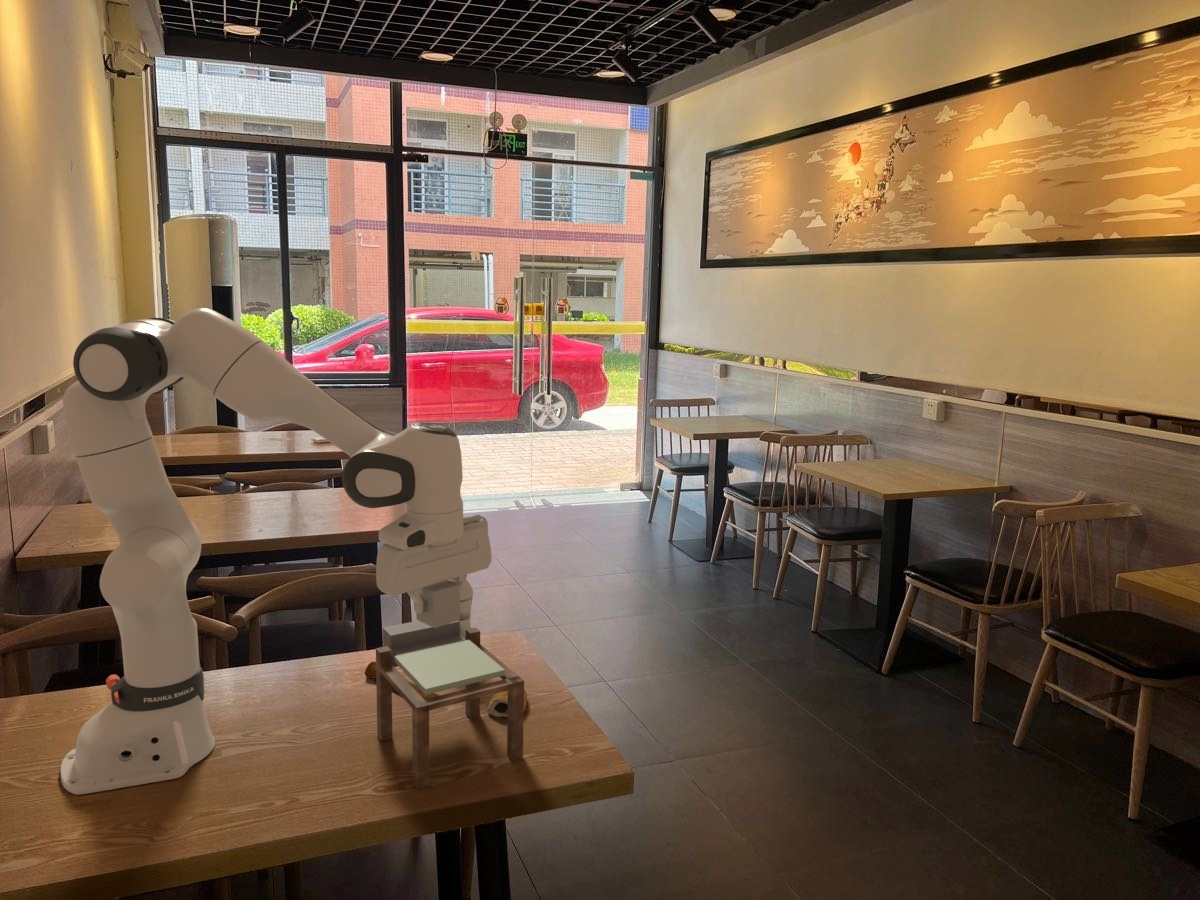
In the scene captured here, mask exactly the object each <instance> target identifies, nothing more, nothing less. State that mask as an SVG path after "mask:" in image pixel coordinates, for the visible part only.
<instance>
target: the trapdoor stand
mask: <svg viewBox="0 0 1200 900" xmlns="http://www.w3.org/2000/svg"><path fill="white" fill-rule="evenodd" d="M466 640H470V641H471V642H472V643H474V644H475V645H476V646H477V647H478V648H479V649H481V650H482V651H483V652H484V653H485V654H487V655H488V656H489V657H490V658H491V659H493V660H494V661H495V662H496V663H497V664H498V665H500V666H501V667H502V668H503V669H504V670H505V675H504V676H500V677H499V678H500V680H497V681H492V682H489V683H485V684H484V683H483V684H481V681H480V682H476V683H472V684H468V685H465V688H464V689H460V690H457V691H453V692H452V691H451V692H449V693H445V694H441V695H440V696H436V697H432V698H428V699H423V698H422V697H421V696H420V694H419V693H418V692H417V691H416V690H415V689H414V688H413V687H412V686H411V685H410V684H409V683H408V682H409V680H407V679H406V677H404V675H402V674H401V673H400V671H399V670H397V668H396V667H394V666H393V665H392V664H391V650H390V649H389V648H388V647H387V646H385V647H383V646H380V647H376V648H375V662H376V679H375V680H376V724H377V725H376V727H377V728H376V729H377V732H376V734H377V737H378V740H380V742H385V741H389V740H392V739H393V689H392V686H393V687H394V688H395V689H396V691H397V692H396V691H395V692H396V693H397V694H399V696H401V698H403V700H404V701H405V702H406V703H407V705H409V707H410V708H411V711H412V712H411V715H412V716H411V721H412V725H411V726H412V728H411V729H412V732H411V733H412V784H413V785H414V787H415V788H416V789H417V791H418V790H420V789H421V790H422V789H424V788H428V787H430V785H431V784H430V781H431V780H430V778H431V777H430V772H431V771H430V769H431V768H430V764H431V763H430V762H431V761H430V711H433V710H436V709H440V708H445V707H449V706H452V705H457V704H460V703H465V714H466V715H467V716H468V717H469V718H473V717H477V716H481V698H484V697H487V696H493V695H495V693H499V692H503V691H507V690H508V712H507V717H506V718H507V719H506V720H507V723H506V724H507V725H506V727H507V731H506V733H507V734H506V736H507V737H506V738H507V739H506V742H507V743H506V756H508V758H510V760H512V761H515V760H518V758H519V759H521V757H522V758H524V719H525V716H524V714H525V713H524V712H525V710H524V690H525V680H524V679H523V678H522V677H521V676H520V675H518V674H517V673H515V671H513V670H512V669H511V668H510V667H509V666H507V665H506V664H505V663H504V662H502V661H501V660H500V659H499V658H498V657H496V656H495V655H494V654H493V653H492V652H490V650H488V649H487V648H485V647H484V645H482V644H481V631H480V629H478V627H476V626H475V627H471V628H470V629H466Z"/></svg>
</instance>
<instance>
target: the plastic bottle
mask: <svg viewBox="0 0 1200 900" xmlns="http://www.w3.org/2000/svg"><path fill="white" fill-rule="evenodd" d="M466 578H468V574H466ZM449 581H452V582H454V579H450V580H449ZM473 597H474V590H473V587H472V585H471V583H470V582H469V581H468V580H467V579H466V582H465V584H464V586H463V588H462V591H461V600H460V620H458V621H460V635H461V636H462V637H463V638H464V639H466V629H470V628H472V627H471V624H472V623H471V612H472V604H473Z"/></svg>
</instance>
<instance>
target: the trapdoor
mask: <svg viewBox="0 0 1200 900" xmlns="http://www.w3.org/2000/svg"><path fill="white" fill-rule="evenodd" d="M385 646H387V647H388V648H389V649H390V650H391V664H392V665H393V666H394V667H395V668H396V667H399V668H400V670H402V671H403V673H404V674H405V675H406V676H407V677H408V678H409V679H410V680H411V681H412V683H413V684H415V685H417V686H418V687H419V688H420V690H421V691H422V692H423V693H424V694H425V695H427V694H431V693H435V694H436V693H439V692H443V691H446V690H451V689H455V688H458V687H463V686H466V685H468V684H472V683H476V682H480V683H481V682H483V681H487V680H491V679H495V678H498V677H499V678H500V676H504V675H505V670H504V669H503V668H502V667H501V666H500V665H498V664H497V663H496V662H495V661H494V660H493V659H491V658H490V657H489V656H488V655H487V654H485V653H484V652H483V651H482V650H481V649H479V648H478V647H477V646H476V645H475V644H474V643H472V642H471V641H470V640H466V639H464V638H463V637H462V636H461V635H460V621H458V620H457V621H454V622H452V623H449V624H446V625H443V626H440V627H437V628H433V627H431V626H429V625H427V624H425V623H423V622H421V621H419V620H414V621H410V622H404V623H399V624H395V625H394V624H393V625H389V626H384V627H382V647H385Z"/></svg>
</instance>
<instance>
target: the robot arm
mask: <svg viewBox="0 0 1200 900" xmlns="http://www.w3.org/2000/svg"><path fill="white" fill-rule="evenodd" d="M72 363H73V365H72V366H73V371H74V374H75V376H76V379H77V381H75V382H73V383H72V384H71V385H69V387H68V388H66V390H65V392H64V394H63V399H62V403H63V404H62V405H63V414H64V420H65V424H66V425H65V426H66V430H67V433H68V438H69V442H70V445H71V448H72V450H73V454H74V457H75V459H76V463H77V465H78V468H79V471H80V474H81V477H82V480H83V482H84V485H85V487H86V490H87V493H88V496H89V499H90V501H91V503H92V505H93V506H94V507H95V508H96V509H97V510H99V511H101V512H102V514H103V515H104V516H105V517H106V519H107V520H108V522H109V523H110V524H111V526H112V528H113V529H114V531H115V532H116V535H117V536H118V540H119V541H118V542H119V545H117V547H115V548H114V549H113V550H112V551H110V553H109V555H108V557H107V558H106V560H105V562H104V564H103V567H102V569H101V573H100V577H99V589H100V592H101V595H102V597H103V599H104V600H105V601H106V602H107V603H108V604H109V605H110V606H111V609H112V612H113V615H114V617H115V620H116V624H117V627H118V630H119V635H120V640H121V651H122V662H123V674H124V675H123V676H122V677H121V678H120V676H118V674H110V675H109V676H107V678H106V680H105V683H106V687H107V690H110V696H111V701H110V702H108V704H106V706H104V707H103V708H102V709H101V710H99V711H98V712H97V713H96V714H95V715H93V716H92V717H91V718H90V719H88V720H87V721H85V723H84V724H83V725H82V727H81V728H80V731H78V732H79V733H78V735H77V738H76V744H75V748H73V749H71V750H70V751H69V752H68V753H67V754H66V755H65V756H64V757H63V759H62V762H61V765H60V781H61V784H62V787H63V788H64V789H65V791H67V792H69V793H71V794H73V795H77V796H78V795H79V796H80V795H86V794H92V793H98V792H104V791H110V790H115V789H120V788H121V789H122V788H128V787H134V786H139V785H140V786H141V785H146V784H150V783H157V782H162V781H163V782H165V781H168V780H174V779H175V780H176V779H179V778H181V777H182V776H183V777H184V775H185V774H186V773H187V772H188V771H189V769H190V768H191V767H192V766H194V765H196V764H197V763H198V762H200V761H202V760H203V759H204V758H206V757H207V756H208V755H209V754H210V753H211V752H213V750H214V748H215V744H216V739H215V737H214V735H213V733H212V730H211V727H210V725H209V722H208V721H209V720H208V718H207V715H206V709H205V704H204V699H205V693H206V692H205V691H206V689H205V688H206V687H205V677H204V676H205V675H204V670H203V668H202V664H201V663H200V656H199V655H200V654H199V639H198V638H199V637H198V624H197V621H196V619H195V618H194V617H193V615H192V613H191V609H190V606H189V605H190V604H189V601H188V597H187V582H188V577H189V575H190V573H191V572H192V571H193V570H194V568H195V567H196V565H197V564H198V561H199V560H200V557H201V552H202V536H201V532H200V530H199V528H198V526H197V525H196V524H195V523H194V522H193V521H192V520H191V519H190V518H189V516H188V514H187V513H186V511H185V509H184V507H183V505H182V503H181V502H180V500H179V499H178V496H177V495H176V493H175V492H174V490H173V487H172V484H171V483H170V480H169V478H168V475H167V473H166V471H165V467H164V463H163V461H162V458H161V455H160V452H159V450H158V447H157V444H156V441H155V438H154V436H153V432H152V429H151V426H150V424H149V421H148V418H147V413H146V404H147V401H148V399H149V397H150V395H157V394H160V393H161V392H163V391H165V390H167V389H168V388H170V387H172V386H174V385H176V384H178V383H179V382H181V381H182V380H184V379H188V380H191V381H192V382H195V383H196V384H197V385H199V386H200V387H201V388H203V389H204V390H205V391H207V392H208V393H209V394H211V395H212V396H213V397H215V398H216V399H217V400H218V401H219V402H221V403H222V404H224V405H225V406H226V407H228V408H229V409H232V411H233V412H234V411H235V412H237V414H240V415H242V416H244V417H246V418H248V419H251V420H253V421H255V422H280V423H290V424H295V425H298V426H302V427H305V428H307V429H308V430H311V431H313V432H314V433H316V434H318V435H319V436H320V437H321V438H323V439H325V440H326V441H328V442H329V443H331V445H333V446H335V447H336V448H338V449H340V451H342V452H343V453H345V454H347V455H348V456H349V457H350V458H349V459H348V460H347V462H345V465H344V466H343V471H342V475H341V481H342V486H343V489H344V492H345V493H346V495H347V496H348V498H350V499H351V500H352V501H353V502H354V504H355V503H356V505H359V506H360V507H364V508H367V509H378V508H379V509H380V508H386V507H391V506H398V505H401V504H405V505H406V512H405V513H404V514H402V515H401V516H399V517H398V518H396V519H394V521H391V522H390V523H388V524H387V525H384V526H383V527H381V528H380V529H379V530H378V541H380V542H381V543H383V544H382V545H380V547H379V549H378V551H377V556H376V566H375V568H376V572H375V577H376V586H377V588H378V590H380V591H381V592H382V593H384V594H386V595H388V596H391V597H395V596H399V595H401V594H405V593H406V594H408V597H410V599H411V600H412V602H413V609H414V612H415V613H418V614H421V613H424V612H427V611H428V608H427V607H428V602H427V601H424V600H422V599H421V597H420V596H419V594H422V587H426V586H429V585H433V584H436V583H439V582H443V581H446V580H450V579H454V583H457V584H459V591H460V600H461V591H462V588H463V586H464V584H465V582H466V580H467V577H466V574H467V575H470V574H473V573H476V572H479V571H483V570H487V569H488V568H489V567H490V565H491V563H492V549H491V543H490V542H491V541H490V537H489V523H488V520H487V519H486V517H484V516H482V515H481V514H473V515H472V516H468V517H464V502H463V497H462V495H461V486H462V483H463V459H462V450H461V444H460V440H459V438H458V435H457V433H456V432H454V430H452V429H451V428H450V427H447V426H445V425H442V424H439V423H435V422H421V421H420V422H415V423H414V422H413V423H411V424H409V426H408V427H406V428H405V429H403V430H402V431H400V432H396V431H392V430H387V429H384V428H381V427H379V426H376V425H375V424H373V423H371V422H370V421H368V420H367V419H365V418H364V417H362V416H361V415H359V414H358V413H356V412H355V411H353V409H350V408H349V407H347V406H346V405H345V404H344V403H342V402H341V401H339V400H338V399H336V398H335V397H333V396H332V395H331V394H329V393H327V392H326V391H325V390H324V389H322V388H321V387H319V386H318V385H316V384H315V382H313V381H312V380H311V379H309V378H308V377H307V376H305V375H304V373H302V372H301V371H300V370H298V369H297V368H296V367H295V366H294V365H292V363H290V362H289V361H288V360H287V359H286V358H284V356H283V355H281V354H280V353H278V351H276V350H275V349H274V348H272V346H270V345H269V344H267V342H265V341H263V340H262V339H261V338H259V337H258V336H257V335H256V334H254V333H253V332H251V331H249V330H248V329H247V328H246V327H244V326H243V325H240V324H239V323H238V322H236V321H235V320H232V319H231V318H228V317H227V316H226V315H223V314H222V313H219V312H218V311H216V310H214V309H211V308H208V307H207V308H205V307H200V308H199V307H198V308H197V307H196V308H193V309H192V310H188V311H187V312H185V313H184V314H181V316H180V317H178V318H177V319H176V320H171V319H169V318H162V317H150V318H146V319H134V320H128V321H124V322H120V323H119V324H116V325H114V326H112V327H105V328H100V329H98V330H96V331H94V332H92V333H90V334H89V335H88V336H86V337H85V338H84V339H82V340H81V342H79V345H78V346H77V347H76V349H75V351H74V355H73V361H72Z"/></svg>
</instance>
